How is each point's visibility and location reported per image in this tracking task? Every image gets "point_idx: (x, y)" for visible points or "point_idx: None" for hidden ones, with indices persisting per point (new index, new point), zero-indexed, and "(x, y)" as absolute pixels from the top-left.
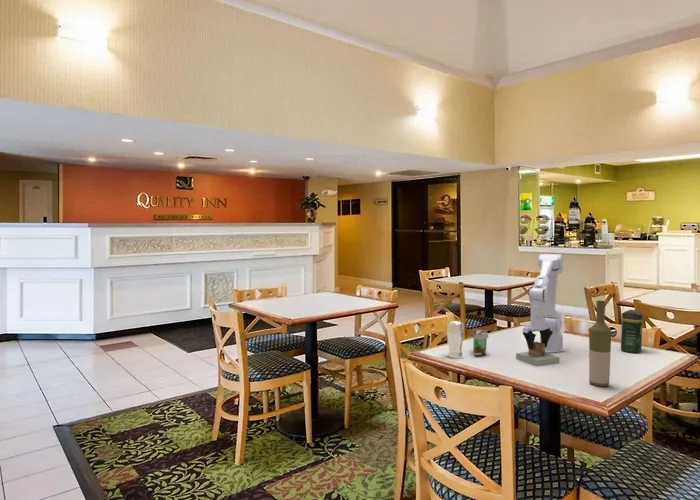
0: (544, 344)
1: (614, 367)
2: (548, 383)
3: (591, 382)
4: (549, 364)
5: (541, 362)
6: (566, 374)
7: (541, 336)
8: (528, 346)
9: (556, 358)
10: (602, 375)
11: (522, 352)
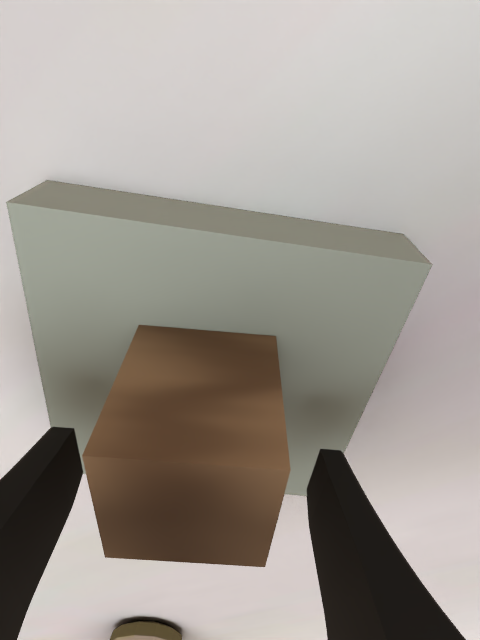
0: (257, 557)
1: (471, 590)
2: None
3: (110, 638)
4: None
5: None
6: None
7: (371, 627)
8: (31, 460)
9: (289, 487)
10: None
11: (133, 223)
